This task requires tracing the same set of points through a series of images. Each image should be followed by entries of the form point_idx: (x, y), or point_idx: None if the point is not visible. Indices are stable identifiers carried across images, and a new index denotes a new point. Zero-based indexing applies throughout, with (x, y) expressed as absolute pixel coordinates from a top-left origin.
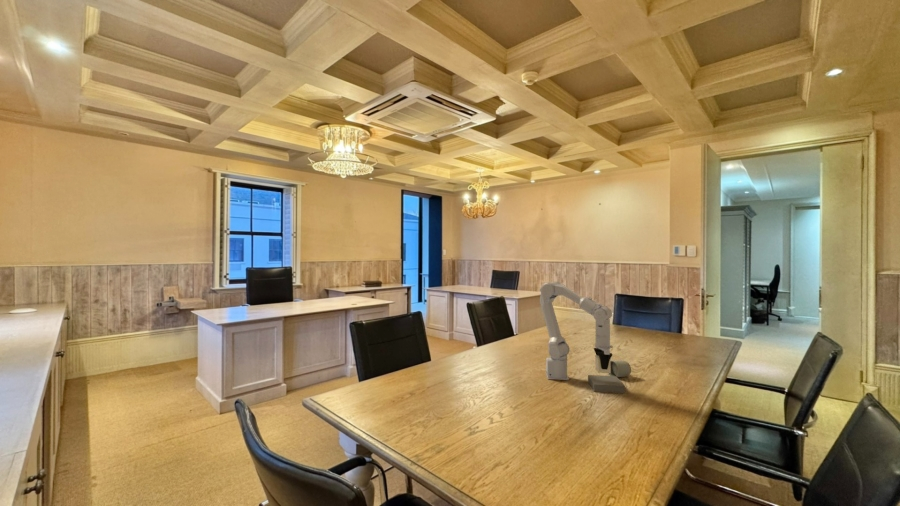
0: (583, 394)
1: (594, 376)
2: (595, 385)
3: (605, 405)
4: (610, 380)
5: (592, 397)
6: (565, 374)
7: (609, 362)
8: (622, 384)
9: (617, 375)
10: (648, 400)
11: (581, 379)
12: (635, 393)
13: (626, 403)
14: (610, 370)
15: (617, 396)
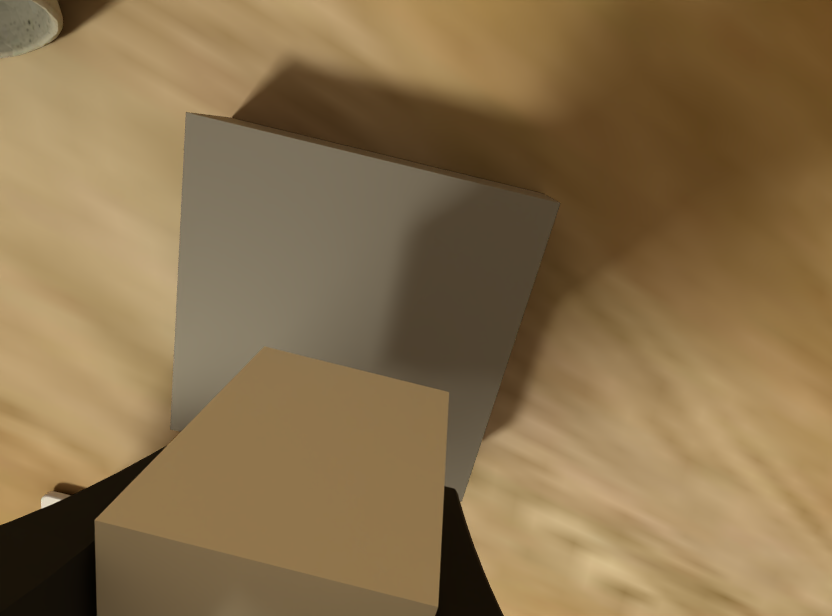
0: (511, 555)
1: (216, 387)
2: (465, 485)
3: (765, 513)
4: (351, 278)
5: (584, 525)
6: None
7: (438, 544)
8: (505, 205)
9: (60, 13)
10: (803, 30)
11: (153, 418)
12: (568, 65)
13: (790, 328)
14: (445, 416)
15: (608, 317)
